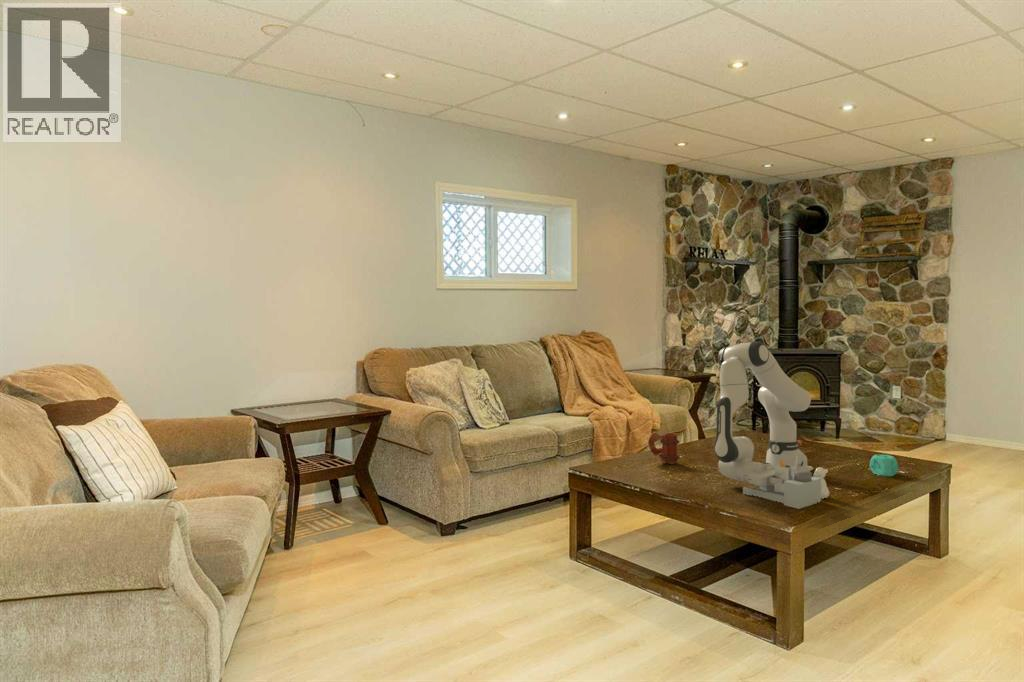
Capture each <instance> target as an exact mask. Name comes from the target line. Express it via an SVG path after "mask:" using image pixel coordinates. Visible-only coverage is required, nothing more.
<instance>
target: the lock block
mask: <svg viewBox="0 0 1024 682" xmlns="http://www.w3.org/2000/svg"><path fill="white" fill-rule="evenodd" d="M794 471H796V466H791V465H786V464H785V461H784V460H783V461H781V464H779V465H775V476H774V478H777V479H779V478H780V479H783V480H784V481H783V482H785V481H788V480H792V479H794ZM773 486H774V493H777V494H781V495H784V483H783V484H775V483H773Z"/></svg>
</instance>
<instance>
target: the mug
mask: <svg viewBox="0 0 1024 682" xmlns="http://www.w3.org/2000/svg"><path fill="white" fill-rule="evenodd" d="M659 440H660V441H659ZM657 441H659V442H660V443H661V447H660V448H657V447H656V446H655V442H657ZM679 444H680V441H679V439H678V434H677V433H673V432H672V433H670V432H666V433H663V434H660V433H658V432H657V431H654V432H652V433H651V434H650V435H649V436H648V447H649V450H650V452H651V453H652V454H653V455H654V456H658V455H659V458H660V462H661V463H663V464H665V463H669V464H673V463H676V464H677V463H678V460H679V459H680V456H679V454H678V445H679ZM669 464H668V465H669ZM673 465H674V464H673Z"/></svg>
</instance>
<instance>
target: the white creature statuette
mask: <svg viewBox="0 0 1024 682" xmlns="http://www.w3.org/2000/svg"><path fill="white" fill-rule="evenodd" d="M828 472H829V469H827V468H826V469H824V468H823V467H821V466H819V467H816V469H815V471H814V473H812V475H813V476H812V477H817V478H821V500H825V499H824V498H826V499H828V497H829V496H830V490H829V488H828V486H827V481H826V480H825V477H826V475H827V473H828Z"/></svg>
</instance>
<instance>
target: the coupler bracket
mask: <svg viewBox="0 0 1024 682" xmlns="http://www.w3.org/2000/svg"><path fill="white" fill-rule="evenodd" d="M812 475H813V473H812V472H811V471H805V470H796V471H794V479H792V480H788V481H785V482H784V495H781V494H777V493H774V484H768V485H764V486H759V488H754V487H747V486H744V487H742V495H745V494H746V496H752V495H753V496H752V497H757V496H758V498H761V497H762V499H765V500H769V501H773V502H776V501H777V503H780V502H781V504H783V505H784V506H785V507H790V508H794V509H798V510H800V509H803V508H806V507H810V506H812V505H815V504H818V503H821V502H820V501H822V499H821V478H817V477H814V476H812ZM817 502H818V503H817Z"/></svg>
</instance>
